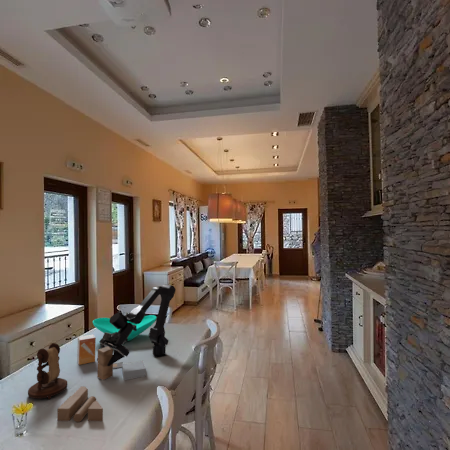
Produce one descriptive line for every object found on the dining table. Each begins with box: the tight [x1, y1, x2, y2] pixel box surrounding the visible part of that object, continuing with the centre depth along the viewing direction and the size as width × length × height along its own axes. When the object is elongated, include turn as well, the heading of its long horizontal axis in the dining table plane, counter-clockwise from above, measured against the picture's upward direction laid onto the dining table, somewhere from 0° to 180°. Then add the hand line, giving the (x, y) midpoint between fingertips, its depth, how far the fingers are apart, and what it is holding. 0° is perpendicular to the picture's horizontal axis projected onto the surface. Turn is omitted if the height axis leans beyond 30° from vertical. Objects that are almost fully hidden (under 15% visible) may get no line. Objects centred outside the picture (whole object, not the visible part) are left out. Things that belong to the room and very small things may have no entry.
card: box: [113, 361, 124, 370], centre depth 156 cm, size 8×6×1 cm
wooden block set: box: [56, 385, 104, 423], centre depth 119 cm, size 17×6×18 cm
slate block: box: [121, 360, 147, 381], centre depth 148 cm, size 10×10×4 cm
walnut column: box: [96, 347, 114, 381], centre depth 145 cm, size 5×5×13 cm
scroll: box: [27, 342, 68, 400], centre depth 130 cm, size 15×15×20 cm
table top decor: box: [92, 314, 157, 342], centre depth 195 cm, size 40×28×13 cm
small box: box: [76, 333, 97, 366], centre depth 162 cm, size 8×6×13 cm
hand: (102, 363), depth 144 cm, fingers open, 9 cm apart
